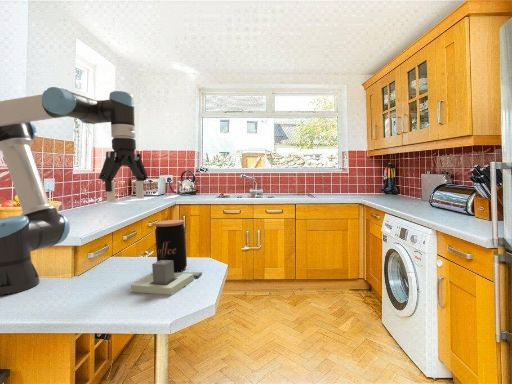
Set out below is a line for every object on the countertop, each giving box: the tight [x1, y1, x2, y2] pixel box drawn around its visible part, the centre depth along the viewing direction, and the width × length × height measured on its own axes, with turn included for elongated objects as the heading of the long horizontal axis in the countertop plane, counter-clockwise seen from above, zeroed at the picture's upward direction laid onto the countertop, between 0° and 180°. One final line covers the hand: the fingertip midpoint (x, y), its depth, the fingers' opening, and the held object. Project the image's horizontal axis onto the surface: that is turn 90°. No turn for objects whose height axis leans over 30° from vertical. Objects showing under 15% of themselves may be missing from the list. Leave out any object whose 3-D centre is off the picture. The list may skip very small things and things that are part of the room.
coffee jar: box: [154, 219, 188, 273], centre depth 110 cm, size 11×11×18 cm
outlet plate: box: [130, 272, 195, 296], centre depth 94 cm, size 14×13×2 cm
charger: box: [151, 260, 174, 285], centre depth 92 cm, size 4×4×8 cm
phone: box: [181, 271, 203, 279], centre depth 102 cm, size 7×4×1 cm, turn 82°
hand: (126, 200), depth 103 cm, fingers open, 13 cm apart
